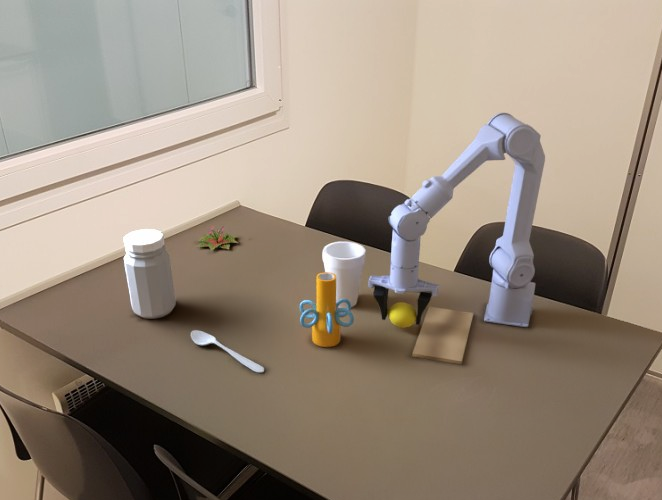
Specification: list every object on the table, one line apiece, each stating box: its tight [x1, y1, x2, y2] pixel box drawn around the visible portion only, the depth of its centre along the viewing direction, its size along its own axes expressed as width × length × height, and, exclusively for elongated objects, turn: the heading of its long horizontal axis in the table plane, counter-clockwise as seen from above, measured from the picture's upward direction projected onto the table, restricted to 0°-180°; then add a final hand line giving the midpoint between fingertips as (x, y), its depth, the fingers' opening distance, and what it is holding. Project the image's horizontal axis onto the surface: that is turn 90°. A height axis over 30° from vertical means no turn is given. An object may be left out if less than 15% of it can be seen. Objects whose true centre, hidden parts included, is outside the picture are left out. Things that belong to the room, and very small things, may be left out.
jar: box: [123, 228, 177, 320], centre depth 153 cm, size 10×10×18 cm
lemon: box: [387, 301, 417, 329], centre depth 149 cm, size 7×5×5 cm
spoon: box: [190, 329, 265, 374], centre depth 142 cm, size 4×21×2 cm, turn 50°
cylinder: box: [299, 271, 355, 348], centre depth 143 cm, size 12×10×15 cm
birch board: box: [411, 306, 474, 365], centre depth 148 cm, size 10×20×1 cm, turn 163°
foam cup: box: [322, 241, 367, 309], centre depth 158 cm, size 10×9×13 cm
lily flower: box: [196, 225, 239, 252], centre depth 187 cm, size 12×12×5 cm
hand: (401, 320), depth 150 cm, fingers closed on lemon, 7 cm apart
